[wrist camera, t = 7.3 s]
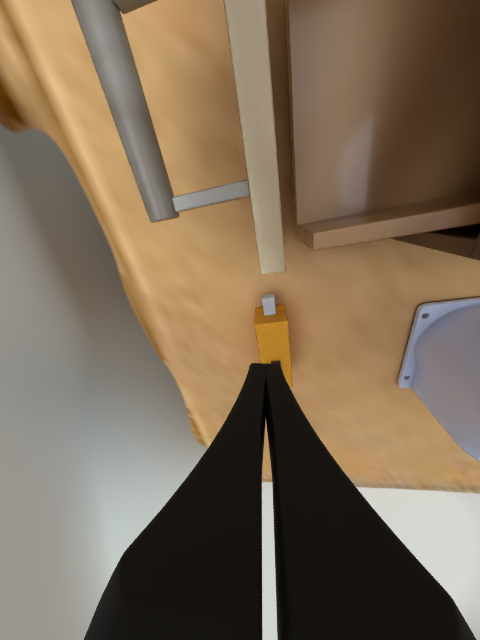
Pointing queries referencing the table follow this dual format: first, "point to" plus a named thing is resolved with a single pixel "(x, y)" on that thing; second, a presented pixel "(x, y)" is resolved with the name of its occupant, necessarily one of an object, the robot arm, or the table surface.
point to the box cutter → (273, 335)
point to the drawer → (327, 117)
